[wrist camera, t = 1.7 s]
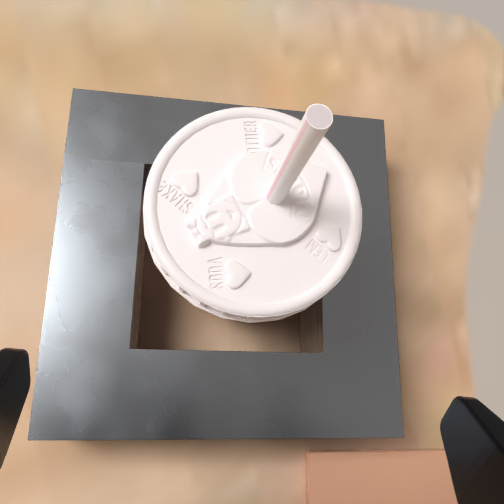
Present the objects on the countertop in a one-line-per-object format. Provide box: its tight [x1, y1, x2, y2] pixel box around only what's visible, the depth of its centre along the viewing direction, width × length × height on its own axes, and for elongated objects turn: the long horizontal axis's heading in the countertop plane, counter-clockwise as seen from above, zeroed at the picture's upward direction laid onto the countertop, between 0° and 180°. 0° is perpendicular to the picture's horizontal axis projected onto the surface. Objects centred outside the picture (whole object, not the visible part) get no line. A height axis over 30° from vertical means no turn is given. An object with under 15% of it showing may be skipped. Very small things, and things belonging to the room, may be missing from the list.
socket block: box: [28, 88, 404, 440], centre depth 20 cm, size 14×14×4 cm
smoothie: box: [143, 104, 362, 323], centre depth 15 cm, size 6×6×14 cm
